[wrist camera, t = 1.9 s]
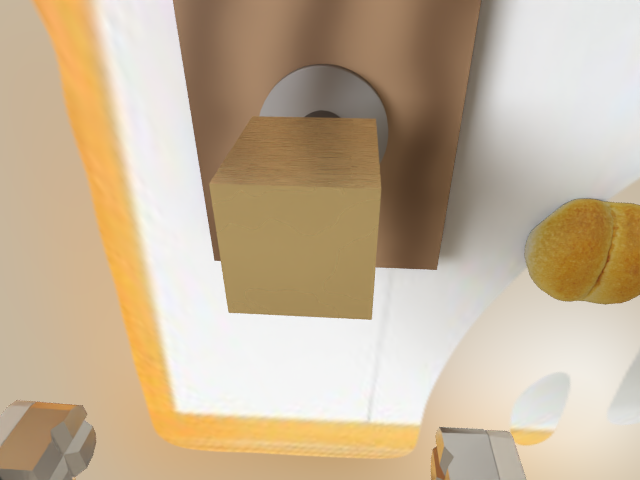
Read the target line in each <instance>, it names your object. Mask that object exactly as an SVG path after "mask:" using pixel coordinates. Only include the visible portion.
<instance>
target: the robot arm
mask: <svg viewBox="0 0 640 480" xmlns="http://www.w3.org/2000/svg"><path fill="white" fill-rule="evenodd" d="M86 416H87V412H86V410H85V408H84V407H83V405H72V404H59V403H46V402H36V401H20V400H16V401H15V402H14V403H12V404H10V405H9V406H8V407H7V408H6V409H5V411H4V412H3V413H2V414H1V416H0V480H75V477H76V476H77V475H78V474H79V473H81V472H82V471H84V470H85V469H86V468H87V467H88V465H89V463H90V461H91V458H92V456H93V453H94V449H95V445H96V433H95V430H94V428H93V426H92V425H90V424H89V423H88V422H86V421H85V418H86ZM436 444H437V446H436V447H435V448H434V449H433V451H432V457H431V480H526V477H525V474H524V471H523V468H522V465H521V461H520V458H519V455H518V452H517V449H516V445H515V442H514V439H513V436H512V435H511V434H510V432H508V431H494V430H483V429H468V428H466V429H465V428H446V427H439V428H438V430H437V432H436Z"/></svg>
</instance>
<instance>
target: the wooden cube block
mask: <svg viewBox="0 0 640 480" xmlns="http://www.w3.org/2000/svg"><path fill="white" fill-rule="evenodd" d="M209 186H210V193H211V199H212V206H213V213H214V219H215V226H216V232H217V239H218V246H219V252H220V259H221V265H222V272H223V279H224V285H225V292H226V298H227V305H228V312H229V313H247V314H267V315H287V316H308V317H328V318H348V319H368V320H372V307H373V293H374V280H375V266H376V253H377V240H378V226H379V213H380V199H381V178H380V165H379V152H378V139H377V126H376V119H368V118H316V117H265V116H252V118H251V119H250V121H249V122H248V124H247V125H246V127H245V128H244V130H243V132H242V133H241V135H240V136H239V138H238V139H237V141H236V143H235V144H234V146H233V147H232V149H231V150H230V152H229V153H228V155H227V157H226V158H225V160H224V161H223V163H222V164H221V166H220V167H219V169H218V171H217V172H216V174H215V175H214V177H213V178H212V180H211V182H210V183H209Z"/></svg>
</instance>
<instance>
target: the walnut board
mask: <svg viewBox="0 0 640 480" xmlns="http://www.w3.org/2000/svg"><path fill="white" fill-rule="evenodd" d="M173 4H174V11H175V17H176V23H177V29H178V35H179V42H180V48H181V54H182V60H183V67H184V73H185V79H186V85H187V91H188V98H189V104H190V110H191V116H192V123H193V129H194V135H195V141H196V148H197V154H198V160H199V166H200V172H201V179H202V185H203V191H204V197H205V204H206V210H207V216H208V222H209V228H210V235H211V241H212V247H213V253H214V260H215V261H221V259H220V252H219V246H218V239H217V232H216V226H215V219H214V213H213V206H212V199H211V193H210V186H209V183H210V182H211V180H212V178H213V177H214V175H215V174H216V172H217V171H218V169H219V167H220V166H221V164H222V163H223V161H224V160H225V158H226V157H227V155H228V153H229V152H230V150H231V149H232V147H233V146H234V144H235V143H236V141H237V139H238V138H239V136H240V135H241V133H242V132H243V130H244V128H245V127H246V125H247V124H248V122H249V121H250V119H251V118H252V116H265V117H316V118H368V119H376V126H377V139H378V152H379V165H380V178H381V199H380V213H379V226H378V240H377V253H376V266H375V267H382V268H406V269H430V270H437V265H438V259H439V253H440V247H441V241H442V235H443V229H444V223H445V217H446V211H447V205H448V199H449V193H450V187H451V180H452V174H453V168H454V162H455V156H456V150H457V144H458V138H459V132H460V126H461V120H462V114H463V108H464V102H465V96H466V90H467V84H468V78H469V72H470V66H471V60H472V54H473V48H474V42H475V36H476V30H477V23H478V17H479V11H480V5H481V0H173Z"/></svg>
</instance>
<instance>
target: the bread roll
mask: <svg viewBox="0 0 640 480" xmlns="http://www.w3.org/2000/svg"><path fill="white" fill-rule="evenodd" d="M524 256H525V260H526V264H527V267H528V270H529V274H530V276H531V278H532V280H533V281H534V283H535V284H536V285H537V286H538V287H539V288H540V289H541V290H543V291H544V292H546V293H547V294H548V295H550V296H551V297H553V298H555V299H558V300H561V301H588V302H592V303H598V304H613V303H622V302H626V301H629V300H631V299H633V298H635V297H637V296H638V295H640V205H636V204H632V203H614V202H603V201H600V200H595V199H576V200H572V201H570V202H567V203H566V204H564V205H562V206H561V207H560V208H558V209H557V210H556V211H555V212H553V213H552V214H551V215H549V216H548V217H547V218H546V219H545V220H543V221H542V222H541V223H540V224H539V225H537V226H536V227H535V228H534V229H533V230H532V231H531V233H530V235H529V237H528V239H527V242H526V245H525V253H524Z"/></svg>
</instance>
